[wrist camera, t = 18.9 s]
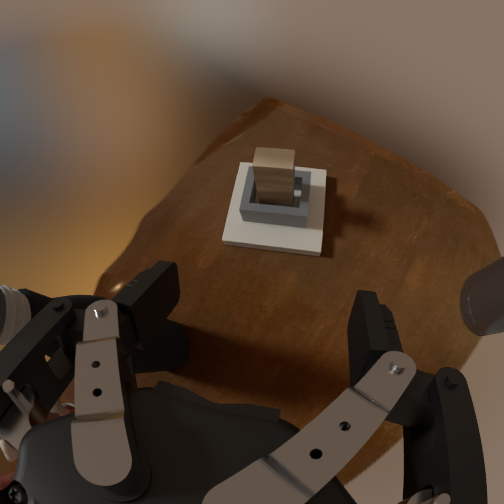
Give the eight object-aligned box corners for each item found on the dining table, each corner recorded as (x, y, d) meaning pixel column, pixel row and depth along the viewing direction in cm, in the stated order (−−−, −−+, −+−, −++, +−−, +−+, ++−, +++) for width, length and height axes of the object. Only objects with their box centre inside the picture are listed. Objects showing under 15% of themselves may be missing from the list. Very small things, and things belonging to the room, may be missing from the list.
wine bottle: (178, 378, 30) (-85, 388, 2) (136, 355, 31) (-100, 310, 4) (197, 332, 32) (-64, 229, 4) (154, 311, 33) (-71, 198, 5)
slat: (292, 212, 34) (292, 169, 26) (260, 209, 35) (252, 166, 26) (294, 195, 35) (295, 150, 26) (263, 192, 36) (256, 147, 27)
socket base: (319, 256, 33) (324, 242, 29) (224, 244, 35) (216, 230, 31) (325, 176, 37) (328, 156, 33) (242, 168, 39) (237, 148, 35)
